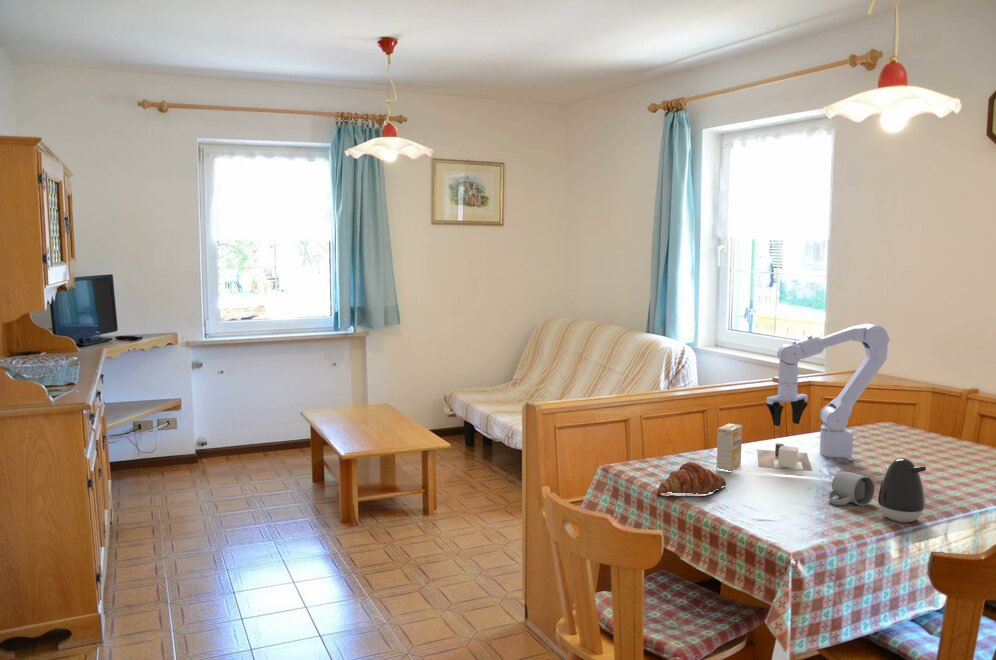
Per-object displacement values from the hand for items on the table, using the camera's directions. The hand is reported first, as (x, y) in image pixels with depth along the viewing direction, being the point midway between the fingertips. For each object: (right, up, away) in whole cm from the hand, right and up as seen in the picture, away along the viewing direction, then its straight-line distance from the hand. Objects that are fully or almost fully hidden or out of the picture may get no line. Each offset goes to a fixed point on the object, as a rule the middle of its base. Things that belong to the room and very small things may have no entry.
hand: (786, 424), depth 247 cm
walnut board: (-4, -11, -7) cm, 13 cm away
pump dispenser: (+7, -17, -56) cm, 59 cm away
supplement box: (-22, -12, -14) cm, 29 cm away
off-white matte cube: (-4, -11, -13) cm, 17 cm away
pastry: (-39, -15, -34) cm, 53 cm away
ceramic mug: (0, -15, -44) cm, 46 cm away
